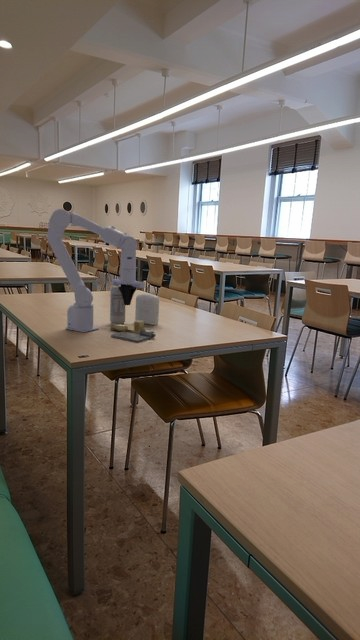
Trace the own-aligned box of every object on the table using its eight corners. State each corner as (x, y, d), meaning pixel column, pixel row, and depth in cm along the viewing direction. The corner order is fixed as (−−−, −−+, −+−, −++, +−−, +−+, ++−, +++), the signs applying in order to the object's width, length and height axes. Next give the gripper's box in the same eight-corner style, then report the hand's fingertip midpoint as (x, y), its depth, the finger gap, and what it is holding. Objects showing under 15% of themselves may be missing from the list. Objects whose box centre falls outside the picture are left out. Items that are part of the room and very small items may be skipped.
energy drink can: (126, 322, 171) (127, 286, 168) (123, 325, 165) (123, 288, 162) (112, 321, 171) (112, 285, 168) (108, 324, 165) (108, 287, 162)
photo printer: (159, 324, 171) (161, 294, 168) (154, 325, 167) (155, 295, 165) (139, 320, 176) (140, 291, 173) (133, 322, 172) (134, 292, 170)
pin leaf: (111, 336, 146) (111, 330, 145) (128, 332, 154) (128, 325, 154) (140, 343, 139) (140, 336, 139) (157, 338, 147) (157, 331, 147)
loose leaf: (110, 329, 156) (110, 320, 155) (126, 325, 164) (126, 316, 163) (135, 335, 149) (135, 324, 149) (151, 330, 157) (151, 321, 157)
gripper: (150, 270, 154) (148, 306, 157) (120, 267, 162) (119, 301, 164) (138, 271, 148) (137, 308, 151) (108, 267, 156) (107, 303, 159)
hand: (127, 304), depth 157 cm, fingers closed
